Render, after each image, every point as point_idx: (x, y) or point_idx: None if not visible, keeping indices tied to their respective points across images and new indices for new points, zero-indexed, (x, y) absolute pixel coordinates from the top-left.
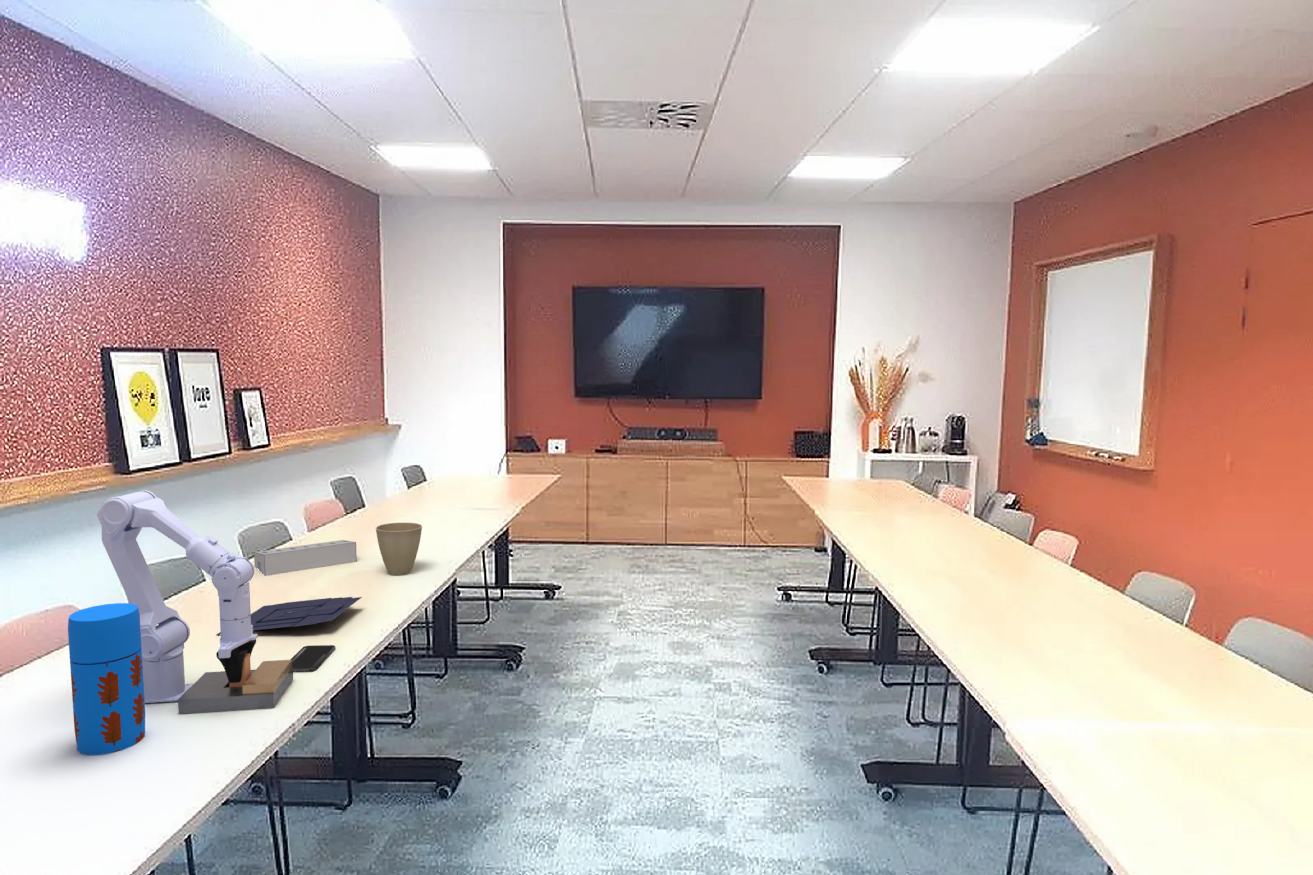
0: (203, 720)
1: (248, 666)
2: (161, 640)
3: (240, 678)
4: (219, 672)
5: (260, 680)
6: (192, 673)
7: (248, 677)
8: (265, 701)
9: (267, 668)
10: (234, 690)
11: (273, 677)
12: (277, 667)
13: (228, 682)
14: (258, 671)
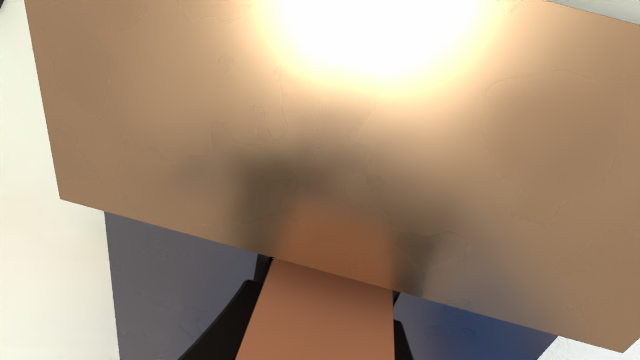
0: (557, 356)
1: (302, 350)
2: None
3: (405, 342)
4: (132, 354)
5: (611, 231)
6: (36, 356)
7: (327, 272)
8: None
9: (266, 165)
10: (452, 319)
11: (621, 101)
12: (268, 60)
13: None
14: (319, 238)
